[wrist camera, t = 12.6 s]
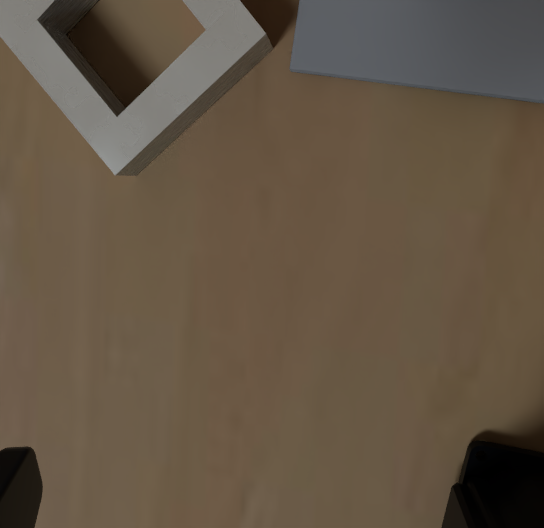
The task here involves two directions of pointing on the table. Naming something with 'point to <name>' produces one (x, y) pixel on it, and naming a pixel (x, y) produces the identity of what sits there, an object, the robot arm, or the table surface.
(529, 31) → the grey square plate
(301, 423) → the table surface
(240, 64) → the white square ring
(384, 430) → the table surface
